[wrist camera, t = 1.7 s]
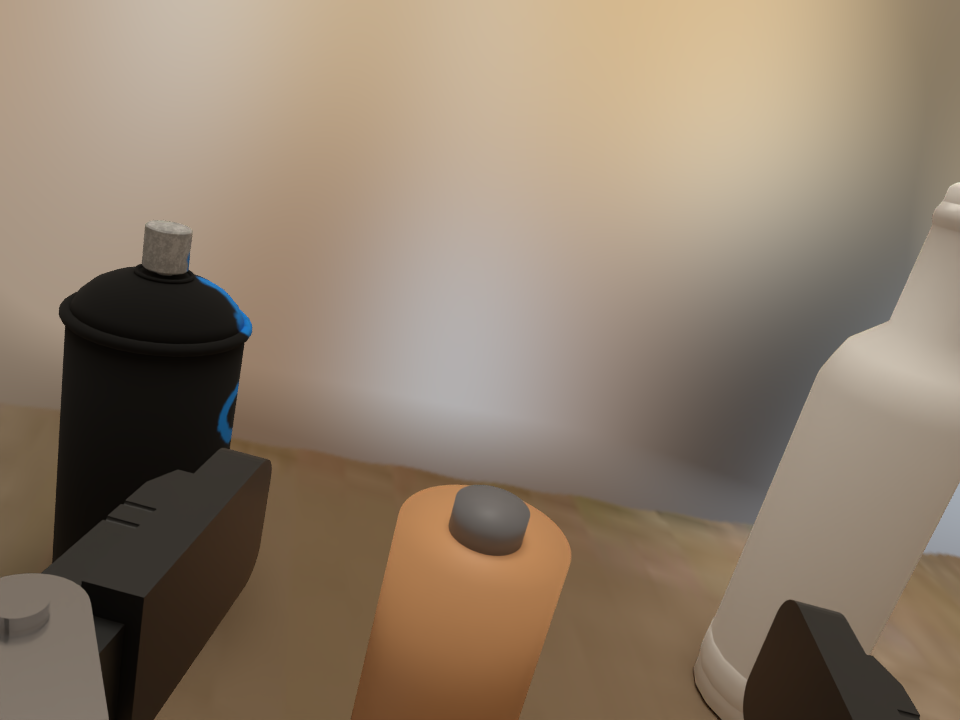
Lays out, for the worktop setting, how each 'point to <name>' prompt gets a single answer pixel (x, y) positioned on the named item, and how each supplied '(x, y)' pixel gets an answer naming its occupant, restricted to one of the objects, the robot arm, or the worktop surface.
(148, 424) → the aerosol can
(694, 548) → the worktop surface
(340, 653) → the worktop surface
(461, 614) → the orange battery
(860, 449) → the bottle
